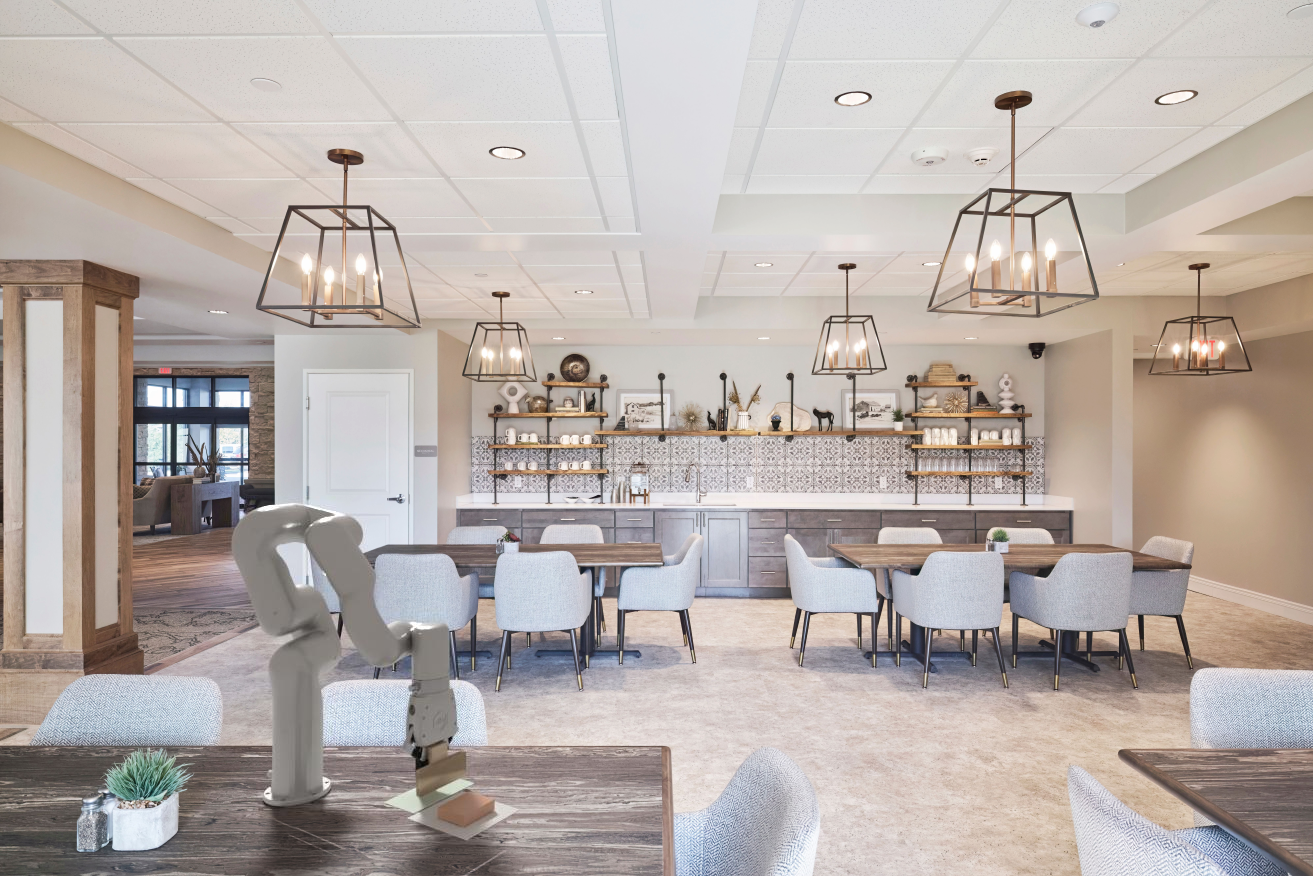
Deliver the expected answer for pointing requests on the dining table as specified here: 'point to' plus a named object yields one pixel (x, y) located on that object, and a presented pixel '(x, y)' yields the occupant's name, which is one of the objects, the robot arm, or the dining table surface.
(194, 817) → the dining table surface
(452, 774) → the stepped beige block
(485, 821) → the mat
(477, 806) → the tile
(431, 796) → the pad
